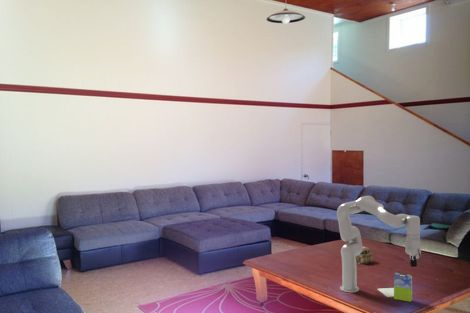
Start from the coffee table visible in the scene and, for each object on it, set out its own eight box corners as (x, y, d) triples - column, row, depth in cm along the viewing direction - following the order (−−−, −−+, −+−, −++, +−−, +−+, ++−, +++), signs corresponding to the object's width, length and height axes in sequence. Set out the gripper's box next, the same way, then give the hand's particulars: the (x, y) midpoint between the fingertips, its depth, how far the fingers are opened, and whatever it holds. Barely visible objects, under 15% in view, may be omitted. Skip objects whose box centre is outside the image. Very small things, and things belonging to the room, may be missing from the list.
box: (412, 300, 251) (412, 273, 250) (411, 302, 247) (411, 275, 247) (394, 297, 256) (394, 270, 256) (393, 299, 252) (393, 272, 252)
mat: (377, 289, 270) (377, 288, 270) (399, 288, 271) (399, 287, 271) (387, 297, 256) (387, 296, 256) (410, 296, 257) (410, 295, 257)
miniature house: (349, 260, 337) (349, 247, 336) (361, 258, 343) (361, 245, 343) (361, 265, 323) (361, 251, 323) (374, 263, 329) (374, 249, 329)
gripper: (401, 233, 245) (401, 263, 246) (414, 239, 231) (414, 270, 231) (412, 233, 246) (412, 262, 246) (426, 238, 231) (426, 269, 232)
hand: (413, 266), depth 239 cm, fingers closed
